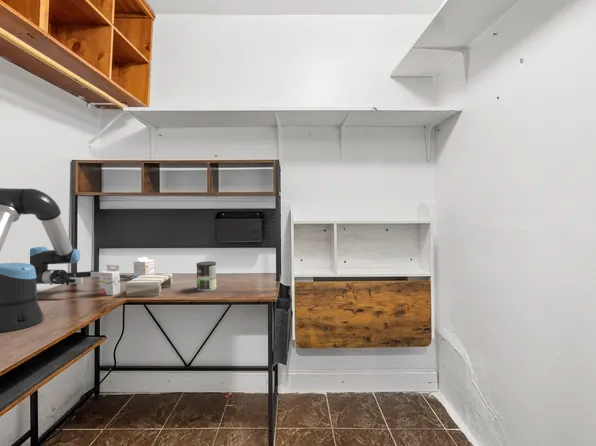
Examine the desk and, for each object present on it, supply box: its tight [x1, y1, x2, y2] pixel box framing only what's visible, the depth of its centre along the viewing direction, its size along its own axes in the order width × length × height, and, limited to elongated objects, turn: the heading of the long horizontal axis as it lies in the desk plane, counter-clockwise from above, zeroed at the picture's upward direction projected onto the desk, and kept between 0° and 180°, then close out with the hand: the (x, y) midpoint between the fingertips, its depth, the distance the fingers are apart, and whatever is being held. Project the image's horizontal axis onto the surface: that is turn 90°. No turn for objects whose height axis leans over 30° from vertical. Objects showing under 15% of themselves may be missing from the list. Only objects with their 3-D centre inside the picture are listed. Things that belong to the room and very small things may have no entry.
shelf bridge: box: [125, 273, 174, 297], centre depth 167 cm, size 20×16×7 cm
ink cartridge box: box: [98, 264, 121, 296], centre depth 162 cm, size 9×5×15 cm, turn 74°
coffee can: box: [196, 260, 217, 292], centre depth 171 cm, size 10×10×14 cm
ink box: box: [133, 256, 155, 279], centre depth 196 cm, size 9×8×13 cm
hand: (92, 277), depth 163 cm, fingers open, 13 cm apart
